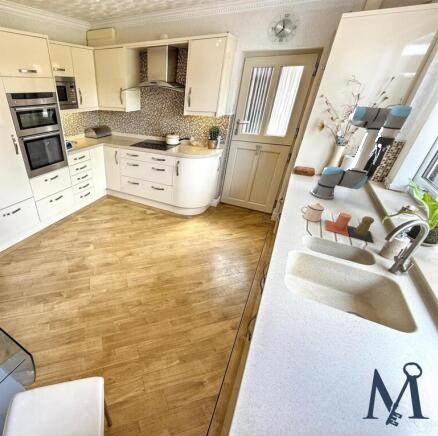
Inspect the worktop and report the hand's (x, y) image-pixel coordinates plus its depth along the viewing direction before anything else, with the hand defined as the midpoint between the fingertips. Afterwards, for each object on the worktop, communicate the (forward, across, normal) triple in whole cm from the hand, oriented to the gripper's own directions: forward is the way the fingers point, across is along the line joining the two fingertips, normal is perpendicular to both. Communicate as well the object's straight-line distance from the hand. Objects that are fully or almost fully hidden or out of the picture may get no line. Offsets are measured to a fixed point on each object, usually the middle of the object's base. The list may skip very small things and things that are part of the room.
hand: (367, 173), depth 139 cm
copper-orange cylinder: (+31, -17, +3) cm, 36 cm away
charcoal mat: (+32, -17, -8) cm, 37 cm away
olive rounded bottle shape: (+31, -17, -8) cm, 36 cm away
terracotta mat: (+32, -17, +4) cm, 36 cm away
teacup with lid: (+32, -13, +19) cm, 40 cm away
